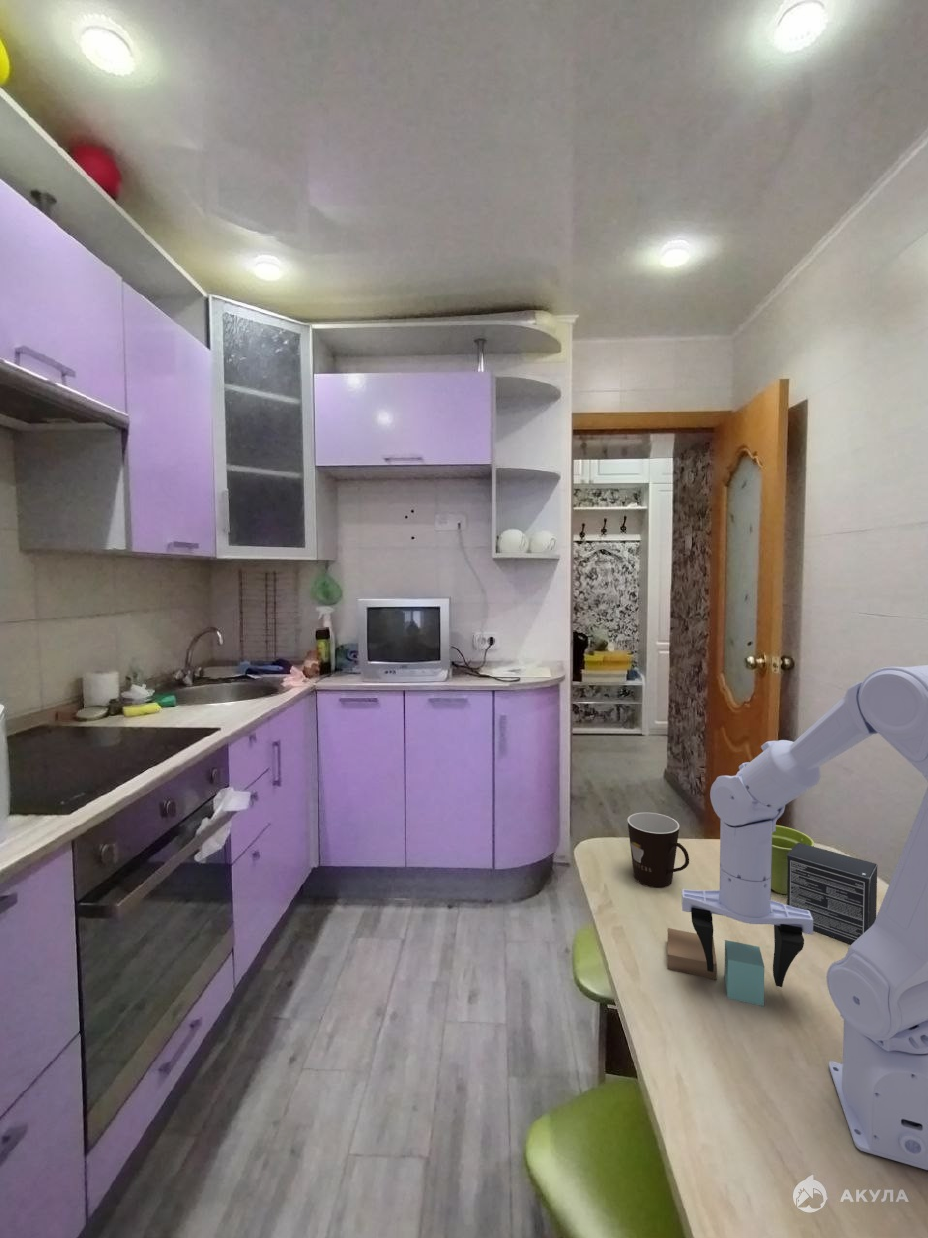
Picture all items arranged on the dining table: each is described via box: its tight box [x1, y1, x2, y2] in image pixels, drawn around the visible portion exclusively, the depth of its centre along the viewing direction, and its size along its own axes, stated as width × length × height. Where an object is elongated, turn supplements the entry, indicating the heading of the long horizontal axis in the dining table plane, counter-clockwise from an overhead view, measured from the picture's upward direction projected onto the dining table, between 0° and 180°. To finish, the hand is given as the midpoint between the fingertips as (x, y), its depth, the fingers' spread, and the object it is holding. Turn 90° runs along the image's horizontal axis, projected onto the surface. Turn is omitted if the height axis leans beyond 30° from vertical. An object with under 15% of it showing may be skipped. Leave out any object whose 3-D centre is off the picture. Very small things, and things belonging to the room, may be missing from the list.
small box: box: [786, 843, 878, 945], centre depth 81 cm, size 11×6×10 cm, turn 45°
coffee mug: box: [627, 811, 690, 889], centre depth 94 cm, size 12×9×10 cm
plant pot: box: [771, 824, 815, 895], centre depth 92 cm, size 9×9×9 cm
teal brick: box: [723, 939, 765, 1007], centre depth 69 cm, size 4×4×5 cm
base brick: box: [667, 927, 718, 980], centre depth 75 cm, size 6×6×2 cm
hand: (743, 973), depth 69 cm, fingers open, 7 cm apart
